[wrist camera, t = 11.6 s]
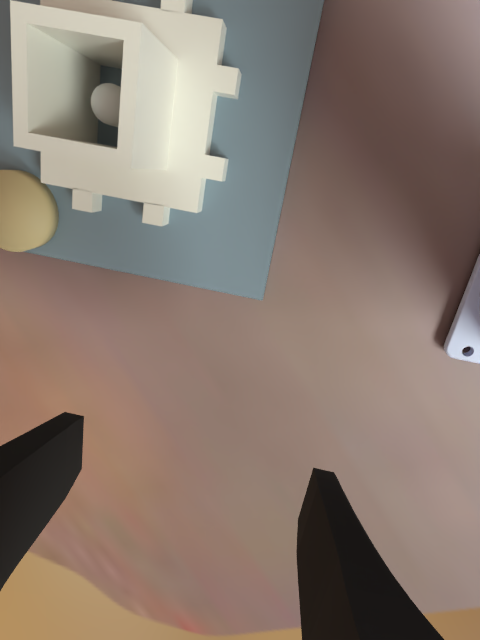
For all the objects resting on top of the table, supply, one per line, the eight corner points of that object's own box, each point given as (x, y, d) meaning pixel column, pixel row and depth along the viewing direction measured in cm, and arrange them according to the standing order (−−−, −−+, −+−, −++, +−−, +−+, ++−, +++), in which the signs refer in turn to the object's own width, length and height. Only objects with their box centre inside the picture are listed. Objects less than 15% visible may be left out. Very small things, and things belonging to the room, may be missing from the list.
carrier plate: (336, -58, 15) (349, -127, 12) (263, 295, 20) (257, 321, 17) (-20, -114, 16) (-107, -194, 12) (-5, 241, 21) (-64, 254, 17)
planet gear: (252, 5, 15) (235, -68, 11) (217, 233, 18) (192, 253, 14) (34, -31, 16) (-74, -116, 11) (35, 197, 19) (-49, 205, 14)
